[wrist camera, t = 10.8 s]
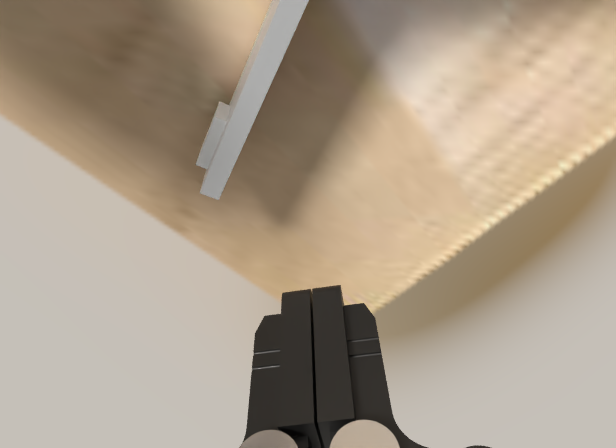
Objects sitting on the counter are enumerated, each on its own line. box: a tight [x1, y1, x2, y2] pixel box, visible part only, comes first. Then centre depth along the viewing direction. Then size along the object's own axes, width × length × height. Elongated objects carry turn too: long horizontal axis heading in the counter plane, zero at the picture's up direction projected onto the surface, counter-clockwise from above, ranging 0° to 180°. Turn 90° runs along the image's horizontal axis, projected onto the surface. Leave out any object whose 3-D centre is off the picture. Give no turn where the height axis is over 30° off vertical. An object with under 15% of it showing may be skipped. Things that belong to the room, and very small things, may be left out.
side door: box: [196, 0, 309, 200], centre depth 17 cm, size 12×2×5 cm, turn 154°
